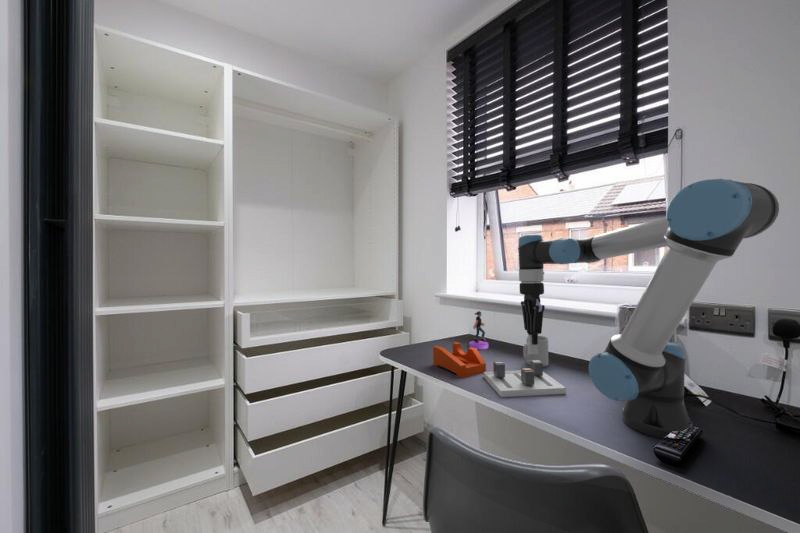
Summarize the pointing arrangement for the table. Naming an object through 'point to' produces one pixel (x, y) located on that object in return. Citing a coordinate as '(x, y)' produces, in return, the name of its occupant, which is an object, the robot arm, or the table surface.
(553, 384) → the panel
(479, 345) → the figurine
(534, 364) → the block
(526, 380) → the block
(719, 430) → the table surface
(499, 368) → the block
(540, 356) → the mug
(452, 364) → the tape dispenser
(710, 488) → the table surface
